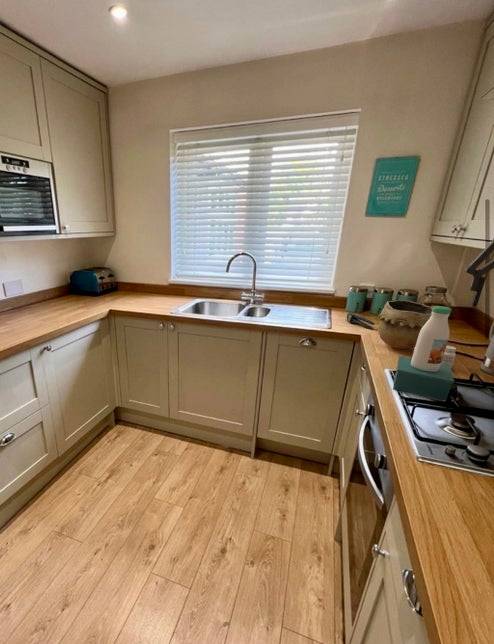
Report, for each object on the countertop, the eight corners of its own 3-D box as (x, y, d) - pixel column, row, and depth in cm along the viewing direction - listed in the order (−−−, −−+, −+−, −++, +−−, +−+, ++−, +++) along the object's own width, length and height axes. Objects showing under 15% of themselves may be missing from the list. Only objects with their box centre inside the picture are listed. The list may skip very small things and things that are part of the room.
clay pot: (439, 354, 140) (453, 308, 133) (397, 357, 135) (410, 310, 128) (399, 339, 159) (410, 298, 152) (361, 341, 154) (370, 299, 147)
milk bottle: (414, 370, 105) (432, 308, 98) (407, 361, 112) (423, 303, 105) (442, 373, 103) (462, 311, 96) (433, 365, 110) (452, 305, 103)
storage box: (444, 384, 112) (450, 365, 110) (447, 401, 101) (454, 381, 98) (394, 374, 119) (399, 356, 117) (391, 389, 108) (397, 369, 106)
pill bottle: (437, 364, 129) (443, 344, 126) (452, 368, 126) (459, 347, 123) (433, 367, 126) (440, 346, 124) (449, 371, 123) (456, 350, 120)
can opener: (342, 321, 189) (344, 311, 187) (352, 320, 191) (354, 311, 189) (367, 330, 173) (369, 319, 171) (377, 329, 175) (379, 318, 173)
